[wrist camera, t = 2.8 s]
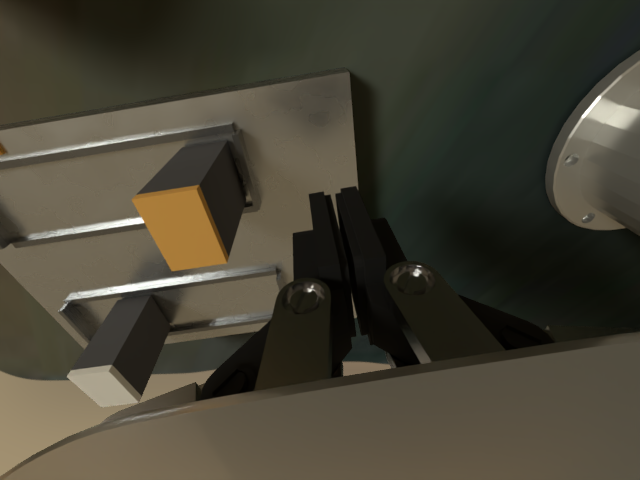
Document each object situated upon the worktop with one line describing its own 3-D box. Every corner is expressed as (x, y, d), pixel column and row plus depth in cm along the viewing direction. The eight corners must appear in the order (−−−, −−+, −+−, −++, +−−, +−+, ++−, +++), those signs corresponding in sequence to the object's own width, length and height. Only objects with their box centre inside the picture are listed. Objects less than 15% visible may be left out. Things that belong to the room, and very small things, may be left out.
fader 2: (227, 139, 16) (196, 189, 11) (246, 199, 18) (227, 263, 13) (182, 147, 16) (131, 199, 11) (205, 205, 18) (171, 271, 13)
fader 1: (150, 295, 22) (108, 371, 17) (171, 326, 24) (139, 402, 19) (117, 299, 22) (66, 376, 17) (141, 330, 24) (101, 407, 20)
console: (344, 67, 16) (352, 74, 14) (363, 298, 27) (370, 325, 24) (-73, 137, 17) (-134, 155, 15) (101, 334, 28) (82, 364, 25)
